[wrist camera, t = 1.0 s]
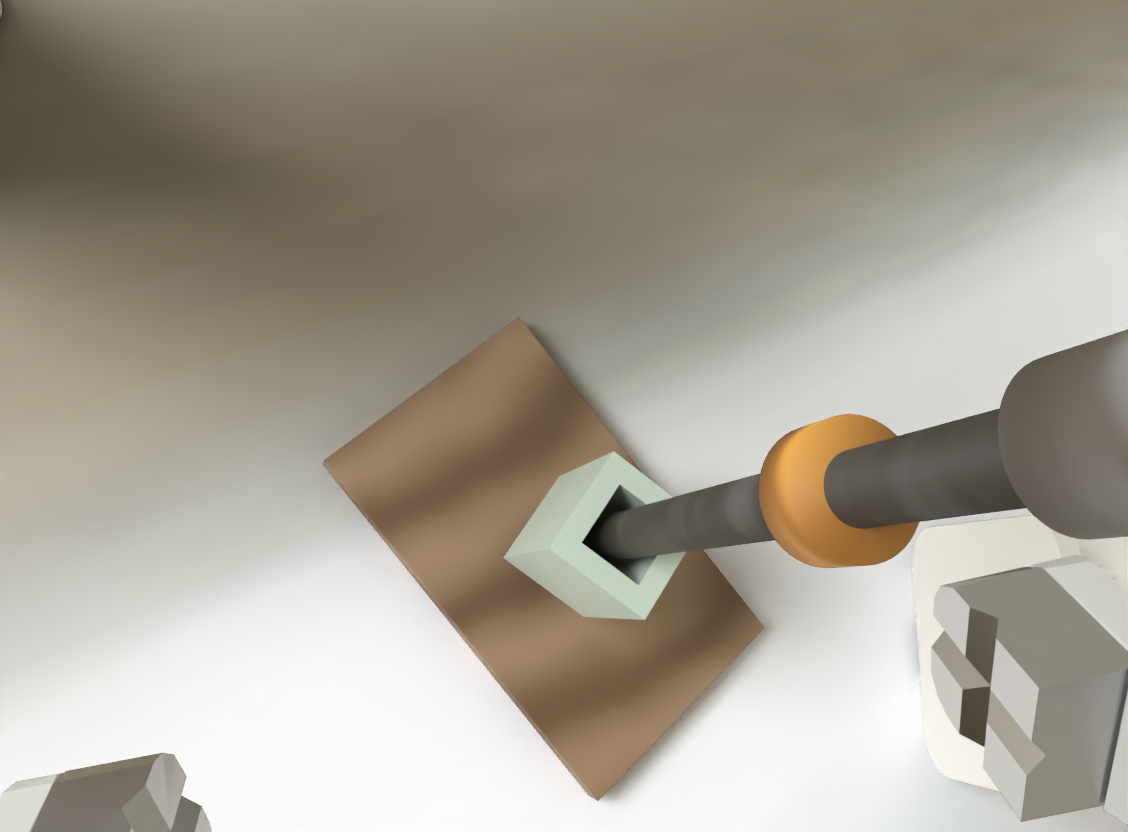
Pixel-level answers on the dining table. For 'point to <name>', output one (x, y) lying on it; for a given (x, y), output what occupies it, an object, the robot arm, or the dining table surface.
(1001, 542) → the cable organizer
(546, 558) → the sleeve
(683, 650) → the stand
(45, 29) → the dining table surface
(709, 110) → the dining table surface
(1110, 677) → the robot arm
